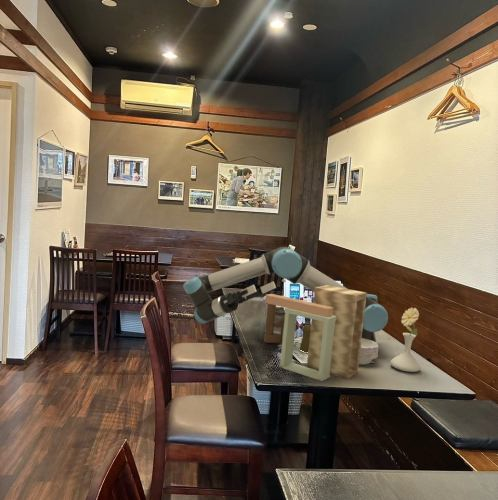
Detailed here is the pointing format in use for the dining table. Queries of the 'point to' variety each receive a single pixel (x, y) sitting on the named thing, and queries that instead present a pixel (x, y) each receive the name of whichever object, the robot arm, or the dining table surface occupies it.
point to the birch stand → (339, 329)
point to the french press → (279, 315)
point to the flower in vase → (407, 344)
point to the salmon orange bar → (299, 305)
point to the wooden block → (269, 335)
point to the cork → (305, 338)
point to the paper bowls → (368, 351)
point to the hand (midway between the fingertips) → (265, 286)
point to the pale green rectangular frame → (325, 346)
